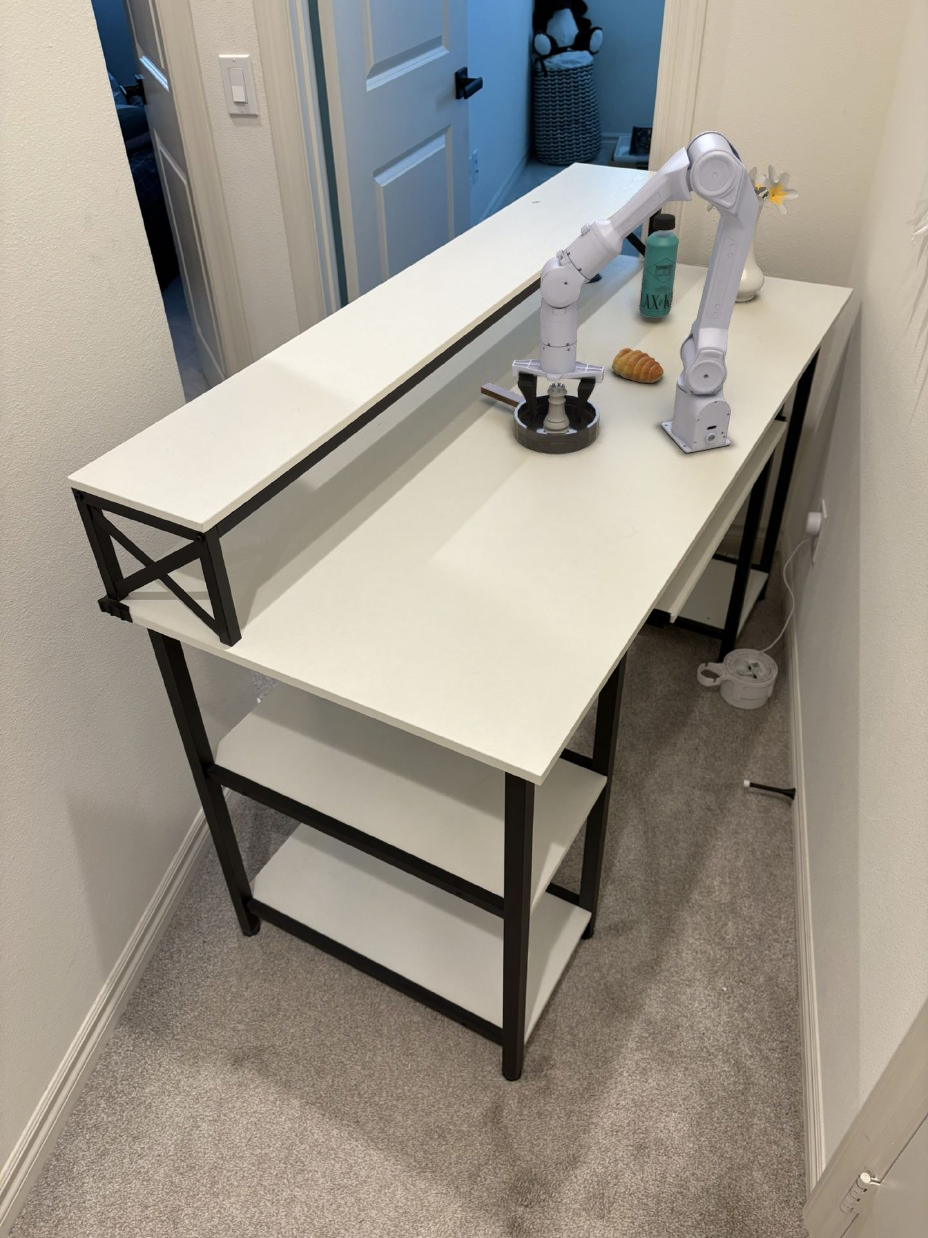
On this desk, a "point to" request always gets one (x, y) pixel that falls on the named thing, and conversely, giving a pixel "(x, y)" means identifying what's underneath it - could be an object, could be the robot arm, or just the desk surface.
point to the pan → (542, 441)
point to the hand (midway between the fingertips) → (556, 417)
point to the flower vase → (776, 195)
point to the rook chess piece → (556, 410)
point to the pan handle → (502, 394)
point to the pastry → (637, 366)
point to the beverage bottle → (659, 268)
